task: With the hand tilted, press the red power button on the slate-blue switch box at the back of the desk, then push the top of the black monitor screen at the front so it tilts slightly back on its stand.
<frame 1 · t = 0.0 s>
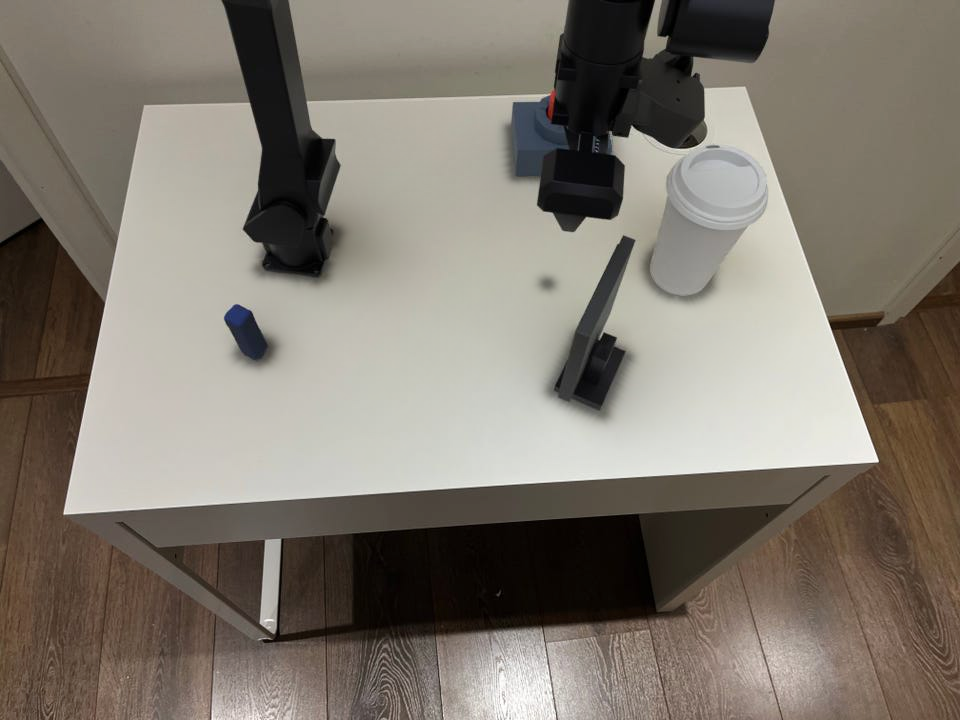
hand: (572, 191, 63), 15 cm above the table, tool pointing down, fingers open, 9 cm apart
screen: (594, 321, 63), point 9 cm above the table, hinge at 0.0°
monitor stand: (579, 369, 71), on the table
switch box: (557, 151, 86), on the table
eraser: (256, 351, 71), on the table
coffee cup: (678, 272, 78), on the table
power button: (564, 106, 80), point 7 cm above the table, slide at 0.1 cm
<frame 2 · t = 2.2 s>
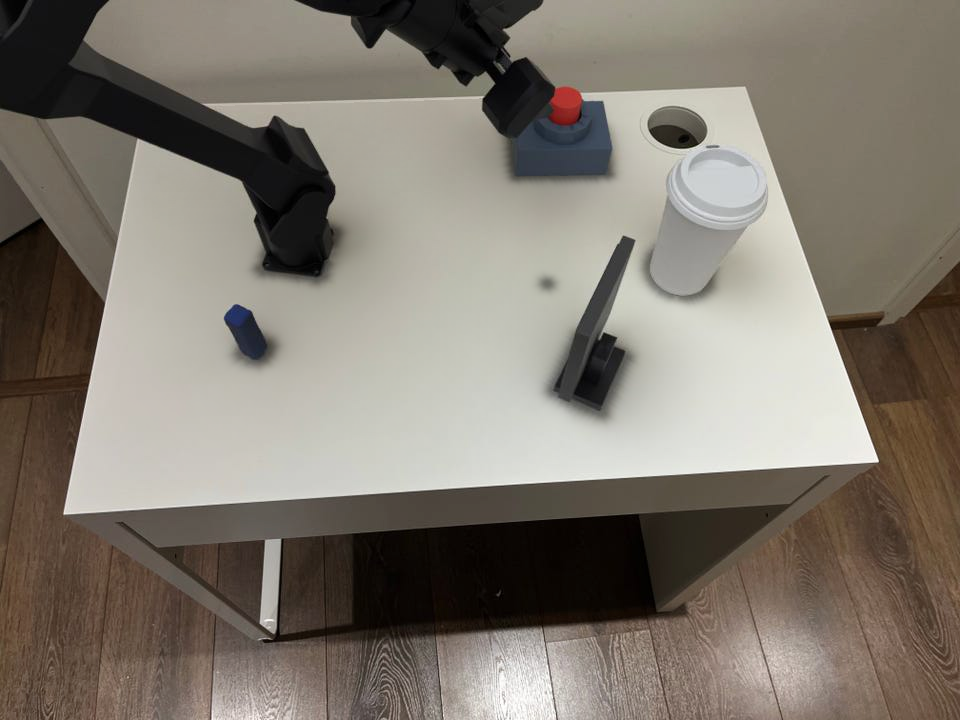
hand: (528, 85, 74), 12 cm above the table, tool tilted 45°, fingers open, 9 cm apart
nothing on the table moved.
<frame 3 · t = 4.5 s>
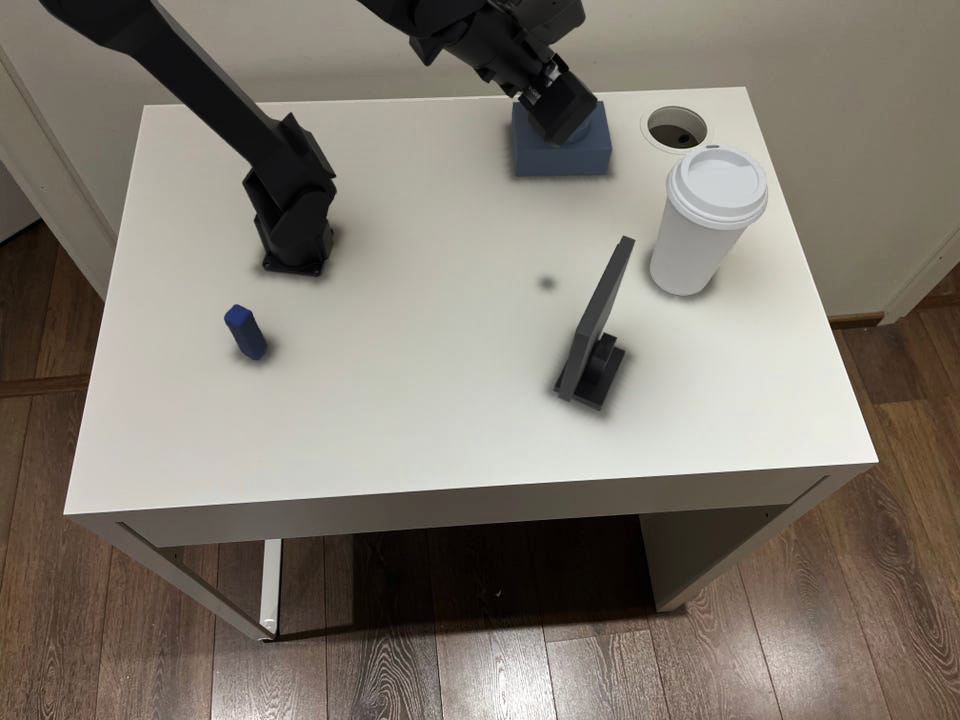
hand: (566, 95, 78), 8 cm above the table, tool tilted 45°, fingers closed, pressing on power button
power button: (564, 106, 80), point 7 cm above the table, slide at 0.1 cm, touching gripper
everything else where it was.
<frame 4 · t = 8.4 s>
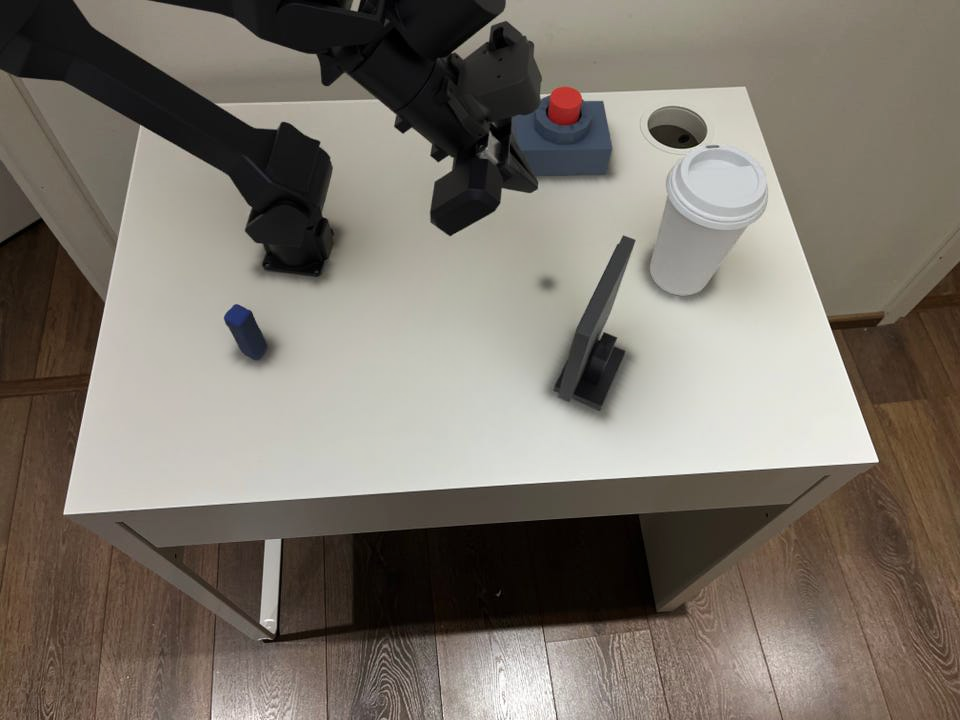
hand: (534, 188, 66), 13 cm above the table, tool tilted 45°, fingers closed
power button: (564, 106, 80), point 7 cm above the table, slide at 0.1 cm
everything else where it was.
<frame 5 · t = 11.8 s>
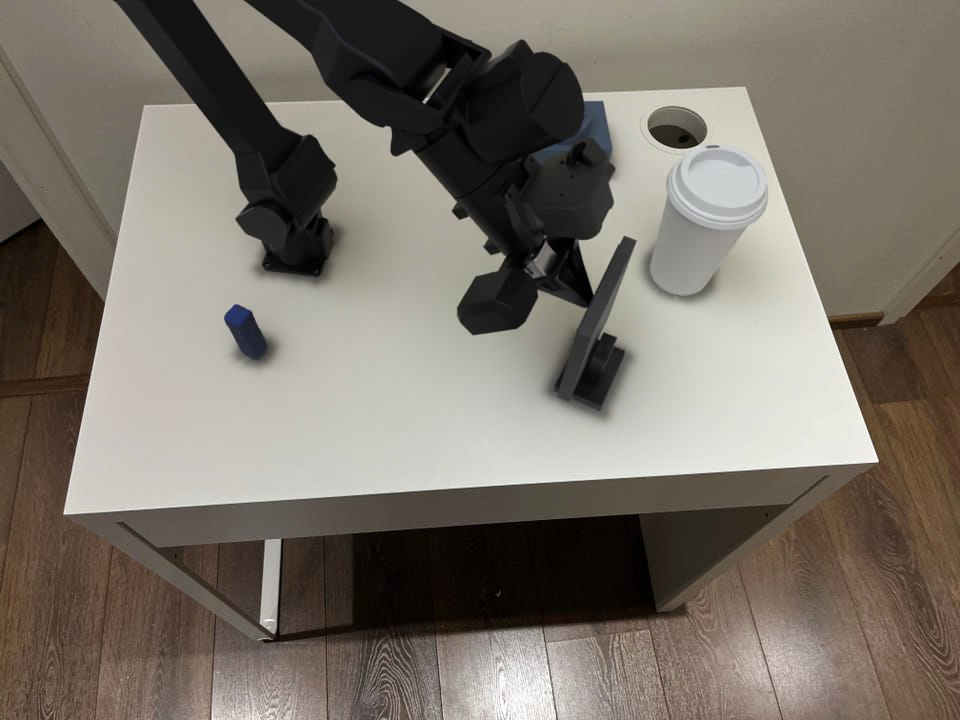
hand: (589, 304, 61), 11 cm above the table, tool tilted 45°, fingers closed, pressing on screen
screen: (594, 322, 63), point 9 cm above the table, hinge at 0.6°, touching gripper
everything else where it was.
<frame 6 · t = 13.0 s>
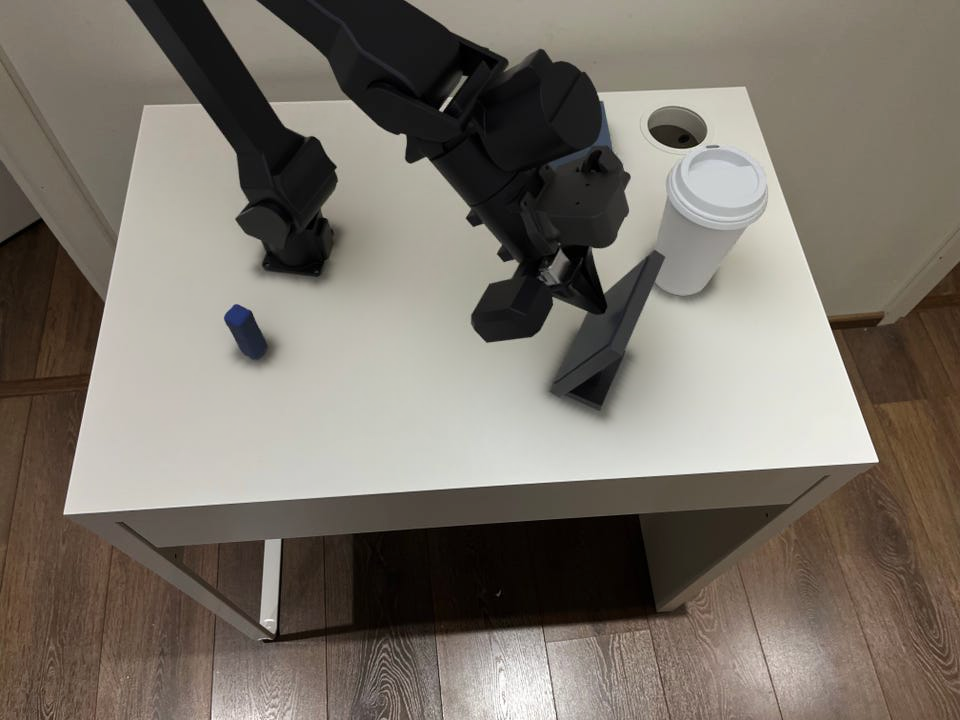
hand: (602, 311, 61), 11 cm above the table, tool tilted 45°, fingers closed
screen: (604, 326, 63), point 9 cm above the table, hinge at 19.0°
everything else where it was.
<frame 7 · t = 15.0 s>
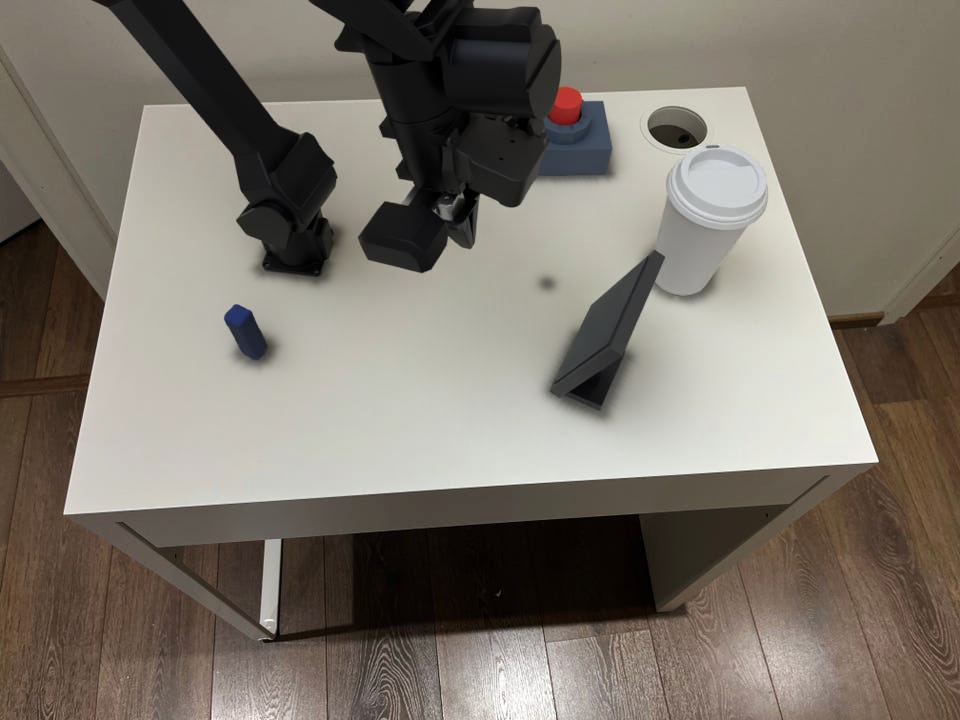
hand: (468, 245, 64), 12 cm above the table, tool pointing down, fingers closed
nothing on the table moved.
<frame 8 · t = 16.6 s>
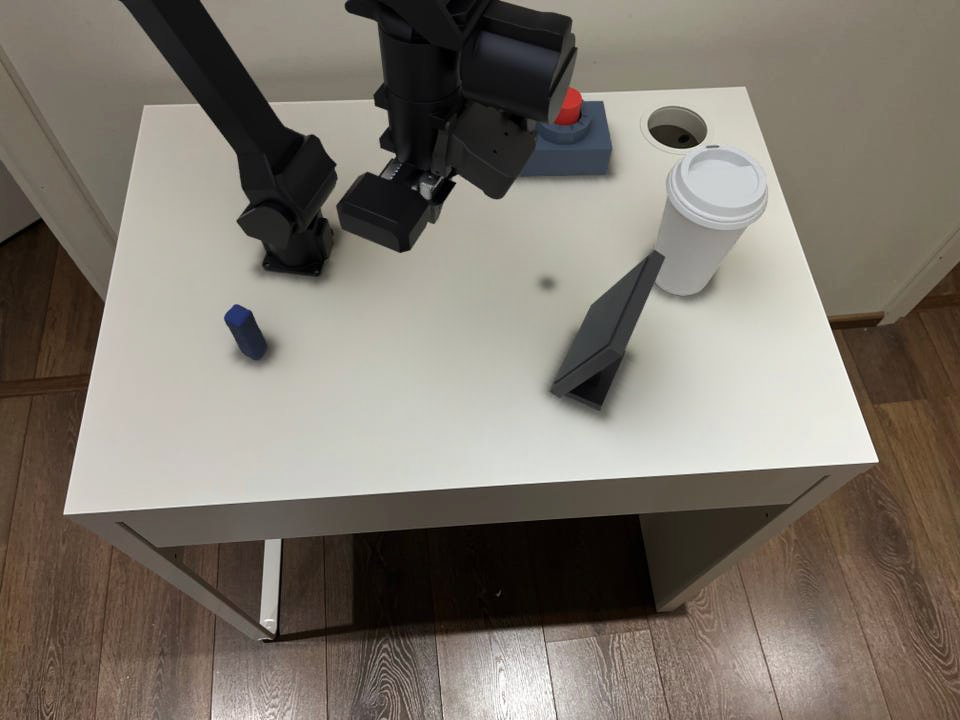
hand: (431, 219, 63), 13 cm above the table, tool pointing down, fingers closed
nothing on the table moved.
at the end: power button pushed in 1.3 cm at the most during the clip, back to where it started at the end; power button slide at 0.1 cm; screen at +19° (first picture: +0°) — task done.
